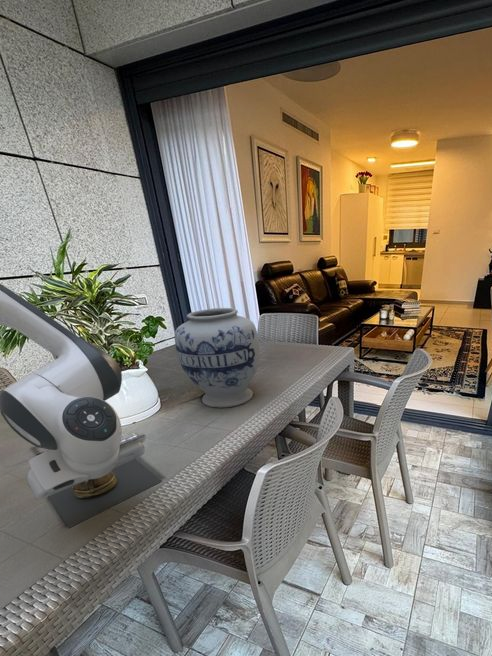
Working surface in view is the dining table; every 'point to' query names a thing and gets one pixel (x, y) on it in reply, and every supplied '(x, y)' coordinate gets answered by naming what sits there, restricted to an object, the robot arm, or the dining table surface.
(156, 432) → the dining table surface
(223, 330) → the apothecary jar
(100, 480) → the wooden mug
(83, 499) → the plate
